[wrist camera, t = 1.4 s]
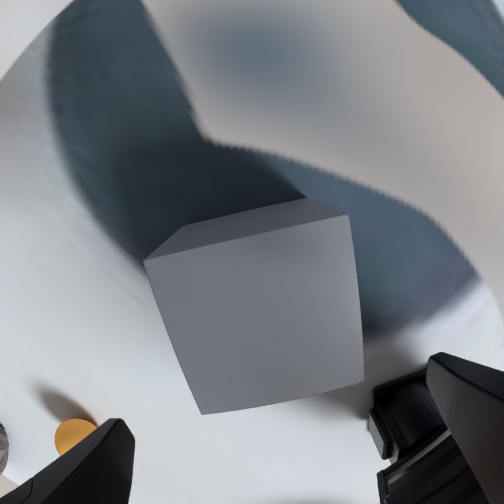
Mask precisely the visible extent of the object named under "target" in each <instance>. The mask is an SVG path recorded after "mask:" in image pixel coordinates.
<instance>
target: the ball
mask: <svg viewBox="0 0 504 504" xmlns="http://www.w3.org/2000/svg"><path fill="white" fill-rule="evenodd" d="M95 429H97V427H96V426H95V425H93V424H92V423H90V422H88V421H86V420H83V419H69V420H66V421H64V422H63V423H62V424H61V425H60V426H59V427H58V428H57V430H56V433H55V445H56V449H57V451H58V453H59V454H60V456H61V455H63V454H64V453H65V452H67V451H68V450H69V449H71V448H72V447H73V446H75V445H76V444H77V443H79V442H80V441H81V440H82V439H84V438H85V437H86V436H88V435H89V434H90V433H91V432H93V431H94V430H95Z"/></svg>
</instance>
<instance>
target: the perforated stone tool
mask: <svg viewBox="0 0 504 504" xmlns="http://www.w3.org/2000/svg"><path fill="white" fill-rule="evenodd" d="M8 446H9V443H8V440H7V435H6V432H5V431H4V430H3V428H2V427H0V474H1V473H2V472H3V471H4V469H5V467H6V464H7V460H8Z"/></svg>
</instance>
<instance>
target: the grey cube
mask: <svg viewBox="0 0 504 504" xmlns="http://www.w3.org/2000/svg"><path fill="white" fill-rule="evenodd" d="M143 263H144V266H145V269H146V272H147V275H148V278H149V282H150V285H151V288H152V291H153V294H154V297H155V299H156V302H157V305H158V308H159V311H160V314H161V317H162V319H163V322H164V325H165V328H166V330H167V333H168V336H169V338H170V341H171V343H172V346H173V349H174V351H175V354H176V356H177V359H178V361H179V364H180V366H181V369H182V371H183V373H184V376H185V378H186V381H187V383H188V385H189V388H190V390H191V392H192V394H193V397H194V399H195V401H196V403H197V406H198V408H199V410H200V412H201V414H202V415H204V414H213V413H221V412H228V411H235V410H242V409H248V408H254V407H260V406H265V405H271V404H276V403H281V402H286V401H291V400H295V399H300V398H304V397H308V396H313V395H317V394H321V393H325V392H329V391H332V390H336V389H340V388H343V387H347V386H350V385H354V384H357V383H361V382H364V381H365V376H364V354H363V337H362V323H361V311H360V300H359V290H358V281H357V273H356V264H355V256H354V249H353V242H352V235H351V228H350V222H349V216H348V214H346V213H344V212H341V211H339V210H337V209H334V208H332V207H329V206H327V205H324V204H322V203H319V202H317V201H314V200H312V199H309V198H303V199H298V200H293V201H288V202H284V203H279V204H274V205H270V206H265V207H261V208H256V209H252V210H247V211H243V212H239V213H234V214H230V215H226V216H221V217H217V218H213V219H209V220H205V221H201V222H197V223H192V224H188V225H184V226H182V227H181V228H180V229H179V230H178V231H177V232H175V233H174V234H173V235H172V236H171V237H170V238H168V239H167V240H166V241H165V242H164V243H163V244H161V245H160V246H159V247H158V248H157V249H156V250H155V251H153V252H152V253H151V254H150V255H149V256H148V257H147V258H145V259H144V260H143Z"/></svg>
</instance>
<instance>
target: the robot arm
mask: <svg viewBox="0 0 504 504" xmlns="http://www.w3.org/2000/svg"><path fill="white" fill-rule="evenodd" d="M379 391H380V392H379ZM377 392H378V393H377ZM369 431H370V433H371V435H372V438H373V440H374V442H375V445H376V447H377V449H378V452H379V454H380V456H381V458H382V459H383V460H386V459H389V460H390V462H391V465H390V466H389V467H387V468H386V469H384V470H381V471H380V472H378V473H377V480H378V482H377V483H378V490H379V497H380V504H504V372H503V371H500V370H497V369H494V368H490V367H487V366H484V365H481V364H478V363H475V362H472V361H468V360H465V359H462V358H459V357H456V356H453V355H450V354H447V353H444V352H439V353H437V354H434V355H432V356H430V357H429V359H428V367H427V368H426V369H424V370H421V371H419V372H416V373H414V374H411V375H408V376H406V377H403V378H400V379H397V380H395V381H392V382H389V383H386V384H383V385H380V386H377V387H375V388H374V389H373V390H372V409H370V411H369ZM134 452H135V438H134V436H133V434H132V433H131V431H130V429H129V428H128V426H127V425H126V423H125V422H124V420H122V419H120V418H110V419H108V420H107V421H105V422H104V423H103V424H102V425H100V426H99V427H98V428H97V429H95V430H94V431H93V432H91V433H90V434H89V435H88V436H86V437H85V438H84V439H82V440H81V441H80V442H79V443H77V444H76V445H75V446H73V447H72V448H71V449H69V450H68V451H67V452H65V453H64V454H63V455H61V456H60V457H59V458H57V459H56V460H55V461H53V462H52V463H51V464H49V465H48V466H47V467H45V468H44V469H43V470H41V471H40V472H39V473H37V474H36V475H34V477H32V478H30V479H29V480H27V481H26V482H25V483H23V484H22V485H20V486H19V487H17V488H16V489H15V490H13V491H11V492H9V493H8V494H6V495H4V496H3V497H1V498H0V504H128V502H129V496H130V491H131V485H132V476H133V463H134Z"/></svg>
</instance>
